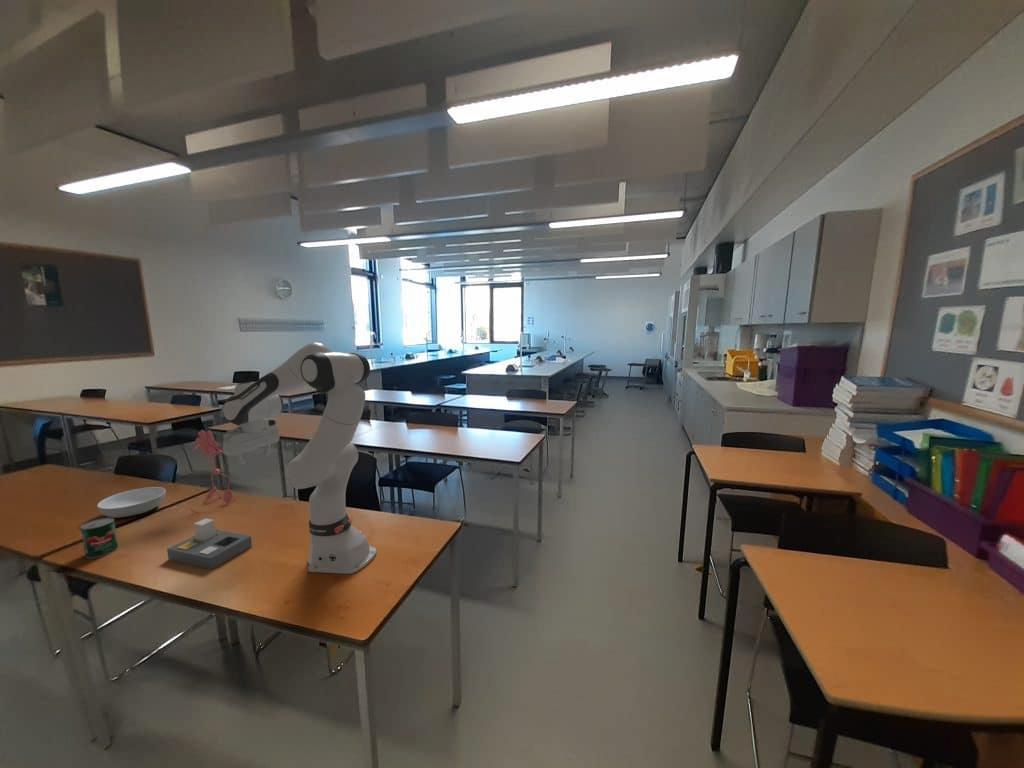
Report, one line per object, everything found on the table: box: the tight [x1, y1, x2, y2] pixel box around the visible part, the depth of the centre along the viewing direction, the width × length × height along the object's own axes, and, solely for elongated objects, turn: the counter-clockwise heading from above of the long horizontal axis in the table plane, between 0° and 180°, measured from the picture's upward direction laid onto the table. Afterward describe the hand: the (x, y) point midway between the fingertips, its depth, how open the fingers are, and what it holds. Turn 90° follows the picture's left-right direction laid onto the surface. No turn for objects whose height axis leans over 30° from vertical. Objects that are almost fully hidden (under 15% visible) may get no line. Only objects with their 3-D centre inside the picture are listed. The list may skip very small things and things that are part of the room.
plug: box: [193, 518, 216, 542], centre depth 134 cm, size 4×4×10 cm
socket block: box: [166, 528, 253, 571], centre depth 131 cm, size 20×14×4 cm
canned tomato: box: [80, 517, 119, 559], centre depth 131 cm, size 8×8×11 cm
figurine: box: [191, 429, 236, 505], centre depth 166 cm, size 15×26×35 cm, turn 72°
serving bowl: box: [96, 486, 167, 518], centre depth 161 cm, size 21×21×7 cm
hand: (254, 459), depth 142 cm, fingers open, 8 cm apart
